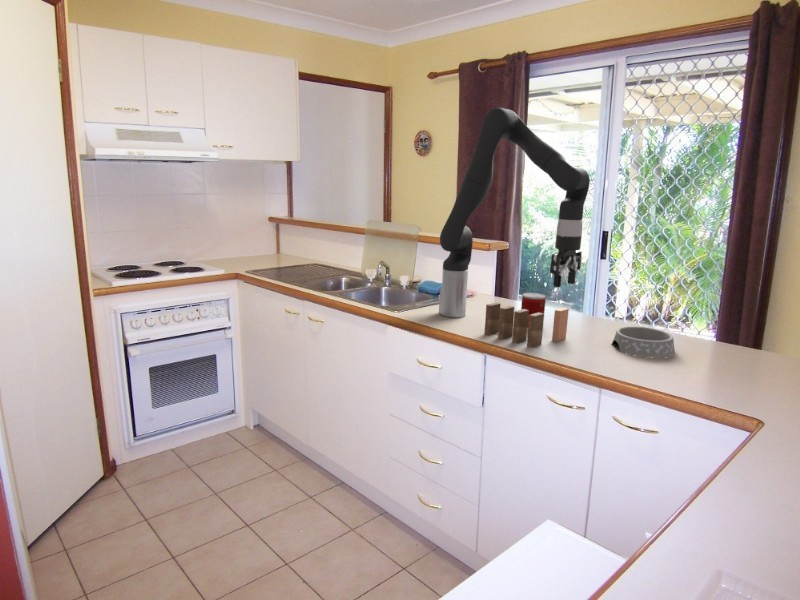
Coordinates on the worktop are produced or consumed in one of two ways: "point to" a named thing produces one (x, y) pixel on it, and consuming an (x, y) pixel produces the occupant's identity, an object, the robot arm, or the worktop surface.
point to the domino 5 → (560, 324)
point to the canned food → (533, 303)
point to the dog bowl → (644, 342)
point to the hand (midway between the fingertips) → (564, 285)
